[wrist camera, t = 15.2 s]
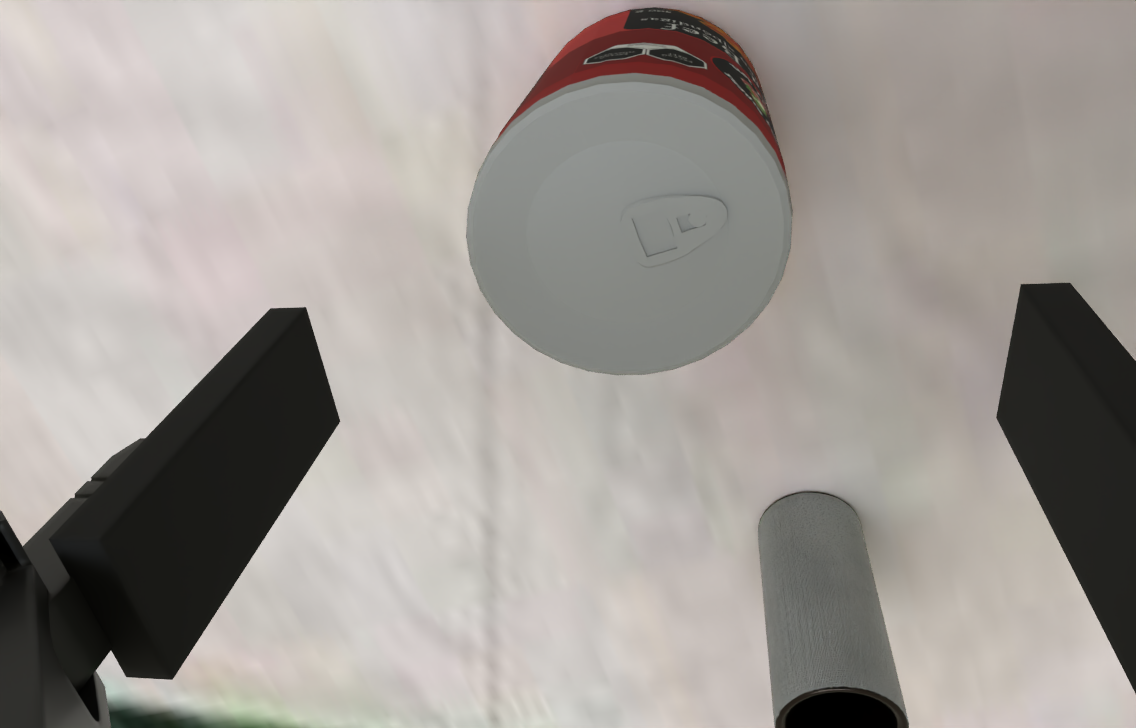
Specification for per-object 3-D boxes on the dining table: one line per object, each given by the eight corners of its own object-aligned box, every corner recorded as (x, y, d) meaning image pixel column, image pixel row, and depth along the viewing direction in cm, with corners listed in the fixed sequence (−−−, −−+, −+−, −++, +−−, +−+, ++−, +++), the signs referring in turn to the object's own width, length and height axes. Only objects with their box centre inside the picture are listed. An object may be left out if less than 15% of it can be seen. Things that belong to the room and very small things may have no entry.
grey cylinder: (813, 580, 39) (846, 785, 31) (737, 534, 39) (748, 732, 30) (882, 524, 37) (939, 728, 28) (802, 474, 36) (835, 669, 28)
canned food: (805, 142, 29) (856, 278, 20) (620, 262, 32) (588, 427, 23) (681, -53, 26) (672, -2, 17) (493, 99, 30) (399, 211, 20)
